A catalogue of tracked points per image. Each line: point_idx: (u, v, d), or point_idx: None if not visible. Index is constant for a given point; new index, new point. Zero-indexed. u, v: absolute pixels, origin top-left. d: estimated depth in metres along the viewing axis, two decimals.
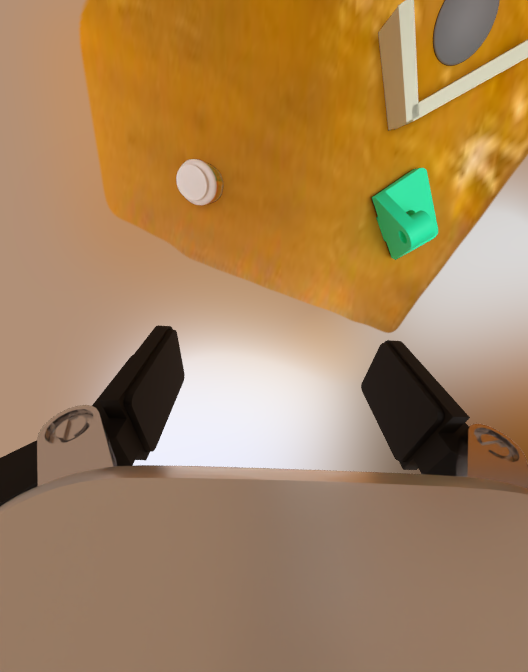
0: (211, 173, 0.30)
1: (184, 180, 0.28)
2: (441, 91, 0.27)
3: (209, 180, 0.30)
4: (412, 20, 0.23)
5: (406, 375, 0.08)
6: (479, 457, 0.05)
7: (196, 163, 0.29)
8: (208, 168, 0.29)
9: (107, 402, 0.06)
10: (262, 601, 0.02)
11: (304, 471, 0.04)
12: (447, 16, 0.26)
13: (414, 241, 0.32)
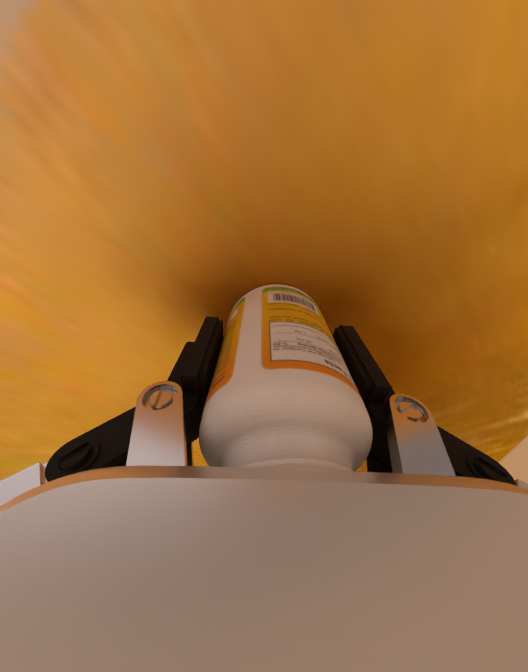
0: None
1: None
2: None
3: None
4: None
5: (349, 354, 0.09)
6: (402, 427, 0.06)
7: None
8: None
9: (186, 378, 0.07)
10: (262, 601, 0.02)
11: (304, 471, 0.04)
12: None
13: None
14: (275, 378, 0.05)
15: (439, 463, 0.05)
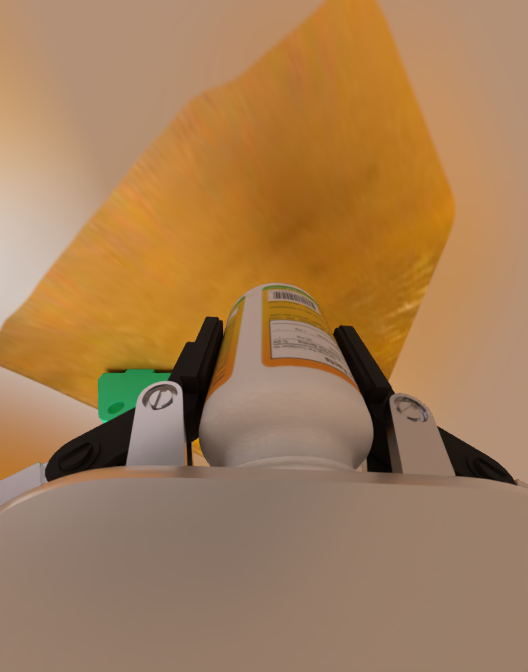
0: None
1: None
2: None
3: None
4: None
5: (349, 354, 0.09)
6: (402, 427, 0.06)
7: None
8: None
9: (186, 378, 0.07)
10: (262, 601, 0.02)
11: (304, 471, 0.04)
12: None
13: (104, 422, 0.30)
14: (276, 376, 0.05)
15: (439, 463, 0.05)
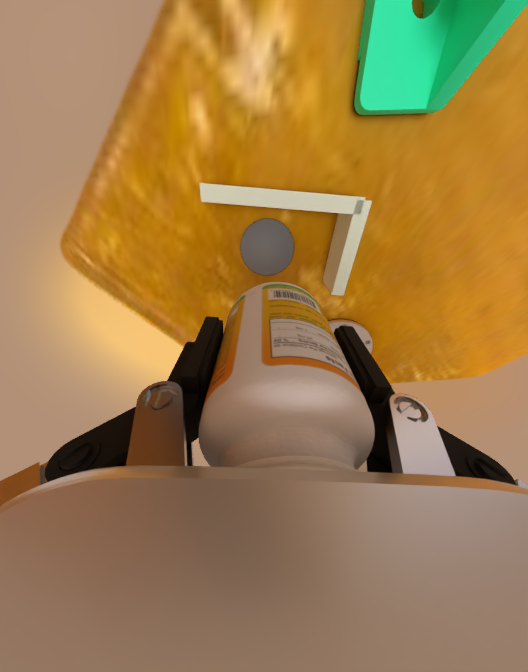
0: None
1: None
2: (327, 210, 0.22)
3: None
4: (337, 281, 0.26)
5: (349, 354, 0.09)
6: (403, 427, 0.06)
7: None
8: None
9: (186, 378, 0.07)
10: (262, 601, 0.02)
11: (304, 471, 0.04)
12: (281, 260, 0.29)
13: None
14: (276, 375, 0.05)
15: (439, 463, 0.05)
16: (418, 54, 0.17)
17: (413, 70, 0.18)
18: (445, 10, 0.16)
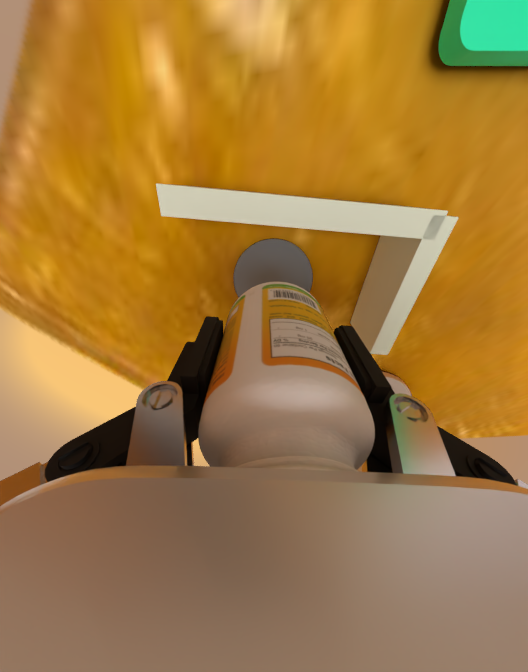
0: None
1: None
2: (379, 232, 0.13)
3: None
4: (380, 337, 0.17)
5: (349, 354, 0.09)
6: (403, 427, 0.06)
7: None
8: None
9: (186, 378, 0.07)
10: (262, 601, 0.02)
11: (304, 471, 0.04)
12: None
13: None
14: (276, 375, 0.05)
15: (439, 463, 0.05)
16: None
17: None
18: None
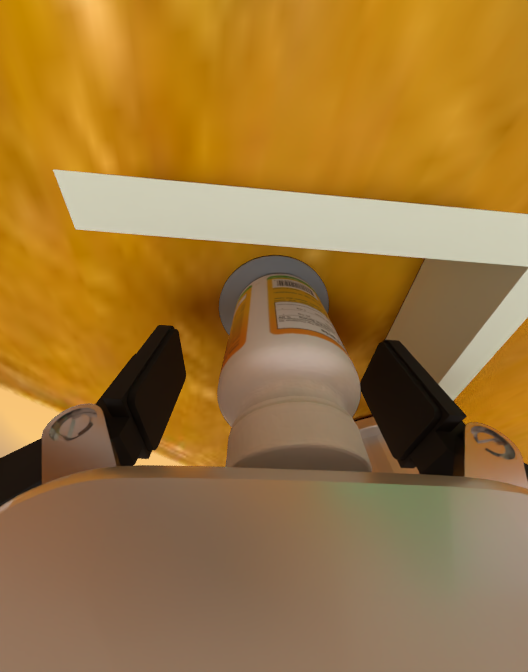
0: None
1: None
2: (458, 255, 0.07)
3: None
4: None
5: (404, 374, 0.08)
6: (476, 455, 0.05)
7: None
8: None
9: (110, 400, 0.06)
10: (262, 601, 0.02)
11: (304, 471, 0.04)
12: None
13: None
14: (282, 340, 0.07)
15: None
16: None
17: None
18: None
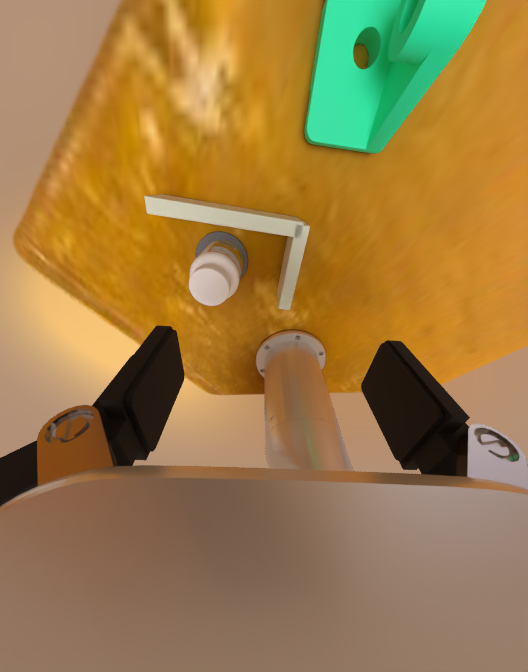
0: None
1: (215, 282, 0.21)
2: (269, 231, 0.23)
3: None
4: (282, 297, 0.27)
5: (406, 375, 0.08)
6: (479, 457, 0.05)
7: (228, 294, 0.24)
8: None
9: (107, 402, 0.06)
10: (262, 601, 0.02)
11: (304, 471, 0.04)
12: None
13: None
14: (209, 252, 0.22)
15: None
16: (358, 100, 0.19)
17: (354, 113, 0.20)
18: (382, 66, 0.18)
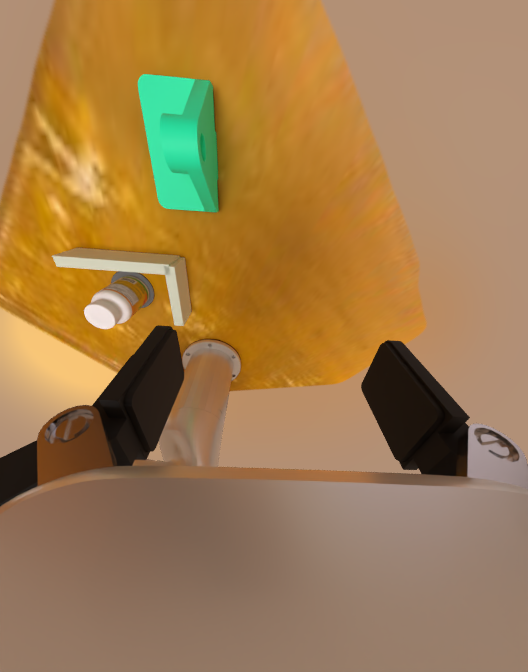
0: None
1: (102, 313, 0.29)
2: (146, 272, 0.31)
3: None
4: (174, 316, 0.35)
5: (406, 375, 0.08)
6: (479, 457, 0.05)
7: (123, 318, 0.32)
8: None
9: (107, 402, 0.06)
10: (262, 601, 0.02)
11: (304, 471, 0.04)
12: None
13: (190, 134, 0.19)
14: (102, 291, 0.31)
15: None
16: (188, 181, 0.27)
17: (188, 190, 0.28)
18: None
